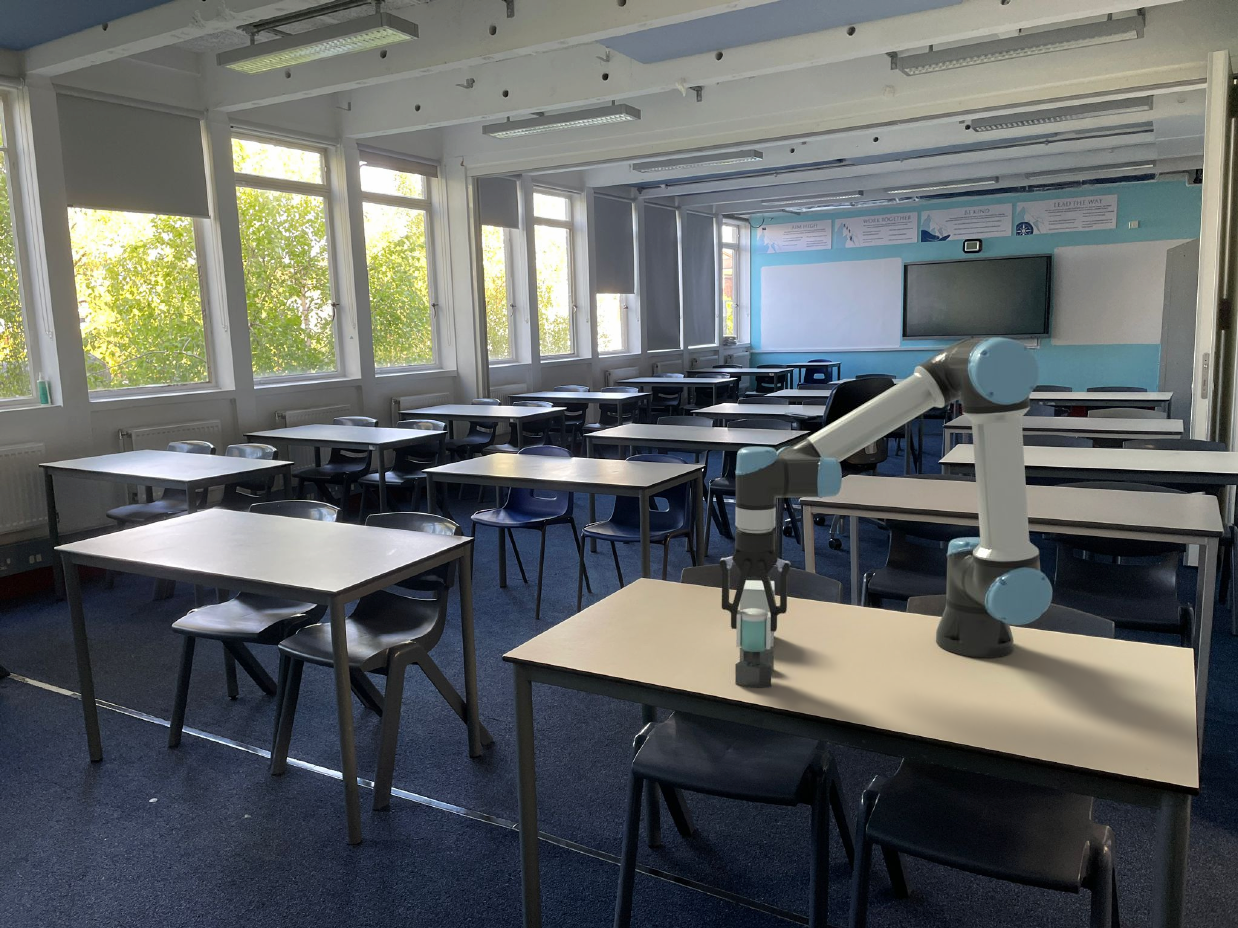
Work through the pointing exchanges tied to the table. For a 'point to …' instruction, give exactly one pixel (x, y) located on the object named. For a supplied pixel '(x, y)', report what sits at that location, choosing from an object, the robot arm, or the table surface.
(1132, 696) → the table surface
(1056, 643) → the table surface
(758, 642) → the teal lidded jar
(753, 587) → the supplement box
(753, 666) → the grey stepped block
